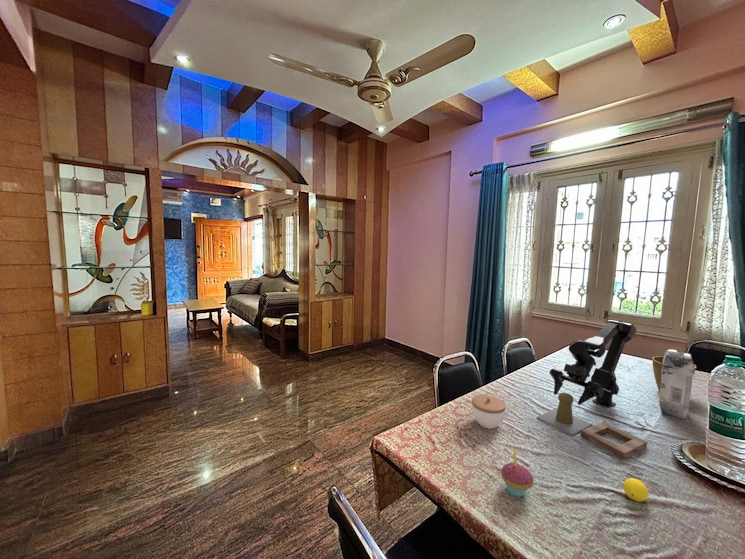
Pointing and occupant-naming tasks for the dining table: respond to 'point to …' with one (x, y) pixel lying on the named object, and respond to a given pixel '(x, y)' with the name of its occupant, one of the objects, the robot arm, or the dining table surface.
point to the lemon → (635, 489)
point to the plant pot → (660, 369)
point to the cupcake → (516, 478)
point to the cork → (565, 409)
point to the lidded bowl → (488, 410)
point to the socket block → (621, 451)
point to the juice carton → (676, 383)
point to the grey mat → (569, 429)
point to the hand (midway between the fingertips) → (566, 399)
